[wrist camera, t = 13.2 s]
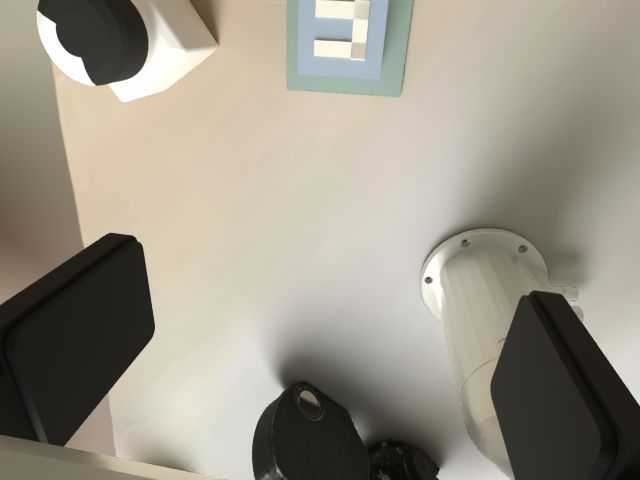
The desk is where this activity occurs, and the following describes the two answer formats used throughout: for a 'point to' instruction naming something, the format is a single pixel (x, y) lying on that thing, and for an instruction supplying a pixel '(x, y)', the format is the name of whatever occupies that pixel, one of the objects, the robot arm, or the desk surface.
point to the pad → (385, 86)
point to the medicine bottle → (124, 42)
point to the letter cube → (341, 37)
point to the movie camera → (326, 444)
